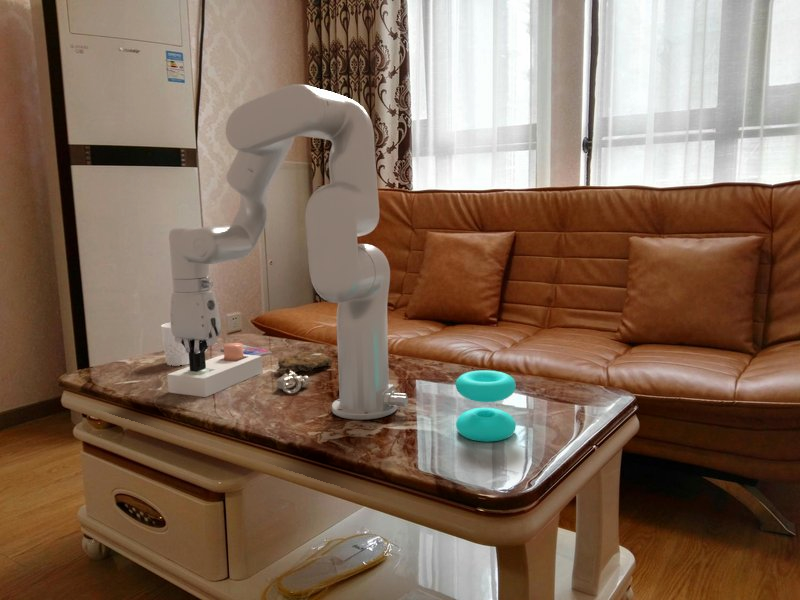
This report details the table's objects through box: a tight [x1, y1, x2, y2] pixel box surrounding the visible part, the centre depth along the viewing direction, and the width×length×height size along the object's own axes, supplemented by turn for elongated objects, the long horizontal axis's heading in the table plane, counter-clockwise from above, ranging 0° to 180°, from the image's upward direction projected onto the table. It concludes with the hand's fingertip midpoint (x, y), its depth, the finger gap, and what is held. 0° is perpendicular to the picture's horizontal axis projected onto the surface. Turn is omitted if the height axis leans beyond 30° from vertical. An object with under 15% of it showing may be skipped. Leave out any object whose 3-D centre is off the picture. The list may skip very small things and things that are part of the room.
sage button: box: [188, 368, 209, 376], centre depth 135 cm, size 4×4×4 cm
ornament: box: [276, 371, 310, 395], centre depth 134 cm, size 8×7×4 cm
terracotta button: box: [222, 342, 244, 362], centre depth 146 cm, size 4×4×4 cm
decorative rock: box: [276, 351, 333, 376], centre depth 150 cm, size 11×4×15 cm
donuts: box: [455, 369, 517, 443], centre depth 106 cm, size 10×10×10 cm
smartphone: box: [220, 344, 272, 357], centre depth 169 cm, size 7×1×15 cm
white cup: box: [160, 322, 189, 367], centre depth 159 cm, size 8×8×10 cm
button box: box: [166, 353, 264, 398], centre depth 141 cm, size 10×20×4 cm, turn 157°
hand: (198, 369), depth 135 cm, fingers closed
